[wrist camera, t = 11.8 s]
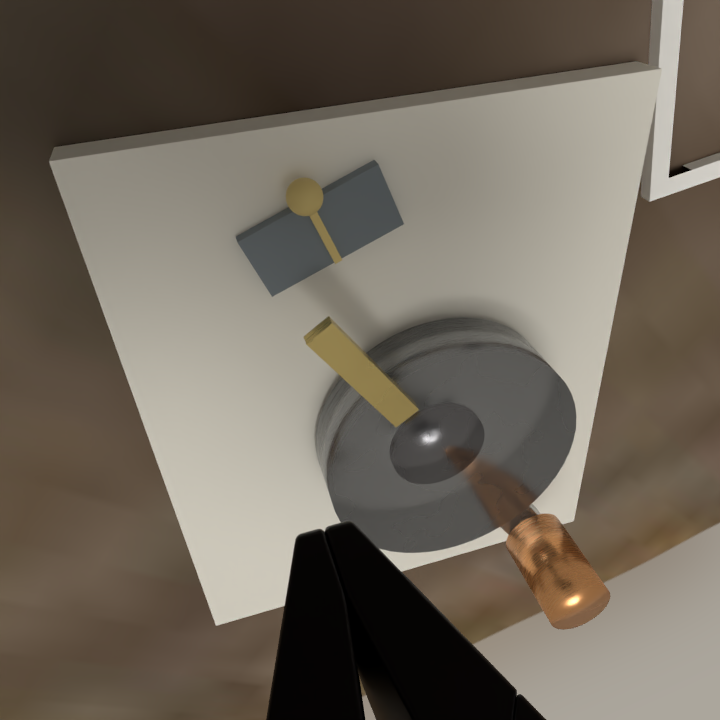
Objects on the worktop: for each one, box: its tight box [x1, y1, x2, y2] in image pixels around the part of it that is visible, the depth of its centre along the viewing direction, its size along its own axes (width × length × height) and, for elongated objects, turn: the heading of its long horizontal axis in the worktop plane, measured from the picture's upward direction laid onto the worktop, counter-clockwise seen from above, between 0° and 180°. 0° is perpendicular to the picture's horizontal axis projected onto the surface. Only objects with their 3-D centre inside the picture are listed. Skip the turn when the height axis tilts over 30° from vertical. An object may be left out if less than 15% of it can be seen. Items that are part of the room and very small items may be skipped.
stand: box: [49, 61, 662, 626], centre depth 23 cm, size 20×17×2 cm
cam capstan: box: [304, 316, 610, 629], centre depth 21 cm, size 16×9×6 cm, turn 37°
